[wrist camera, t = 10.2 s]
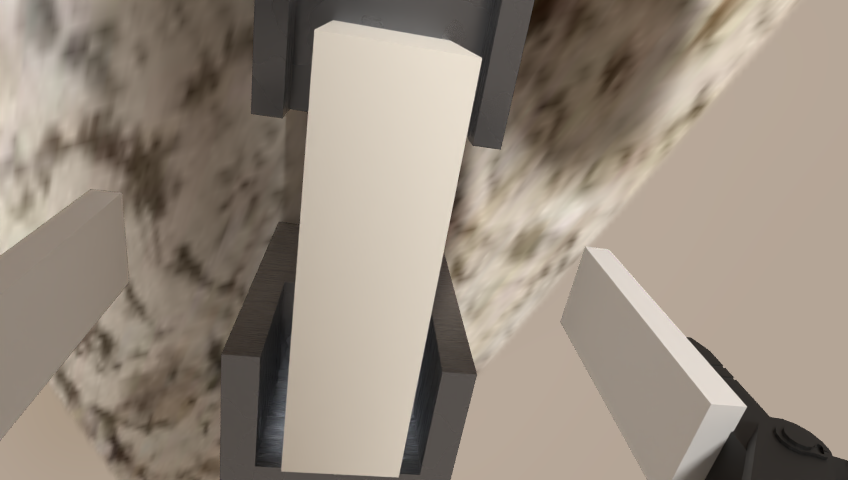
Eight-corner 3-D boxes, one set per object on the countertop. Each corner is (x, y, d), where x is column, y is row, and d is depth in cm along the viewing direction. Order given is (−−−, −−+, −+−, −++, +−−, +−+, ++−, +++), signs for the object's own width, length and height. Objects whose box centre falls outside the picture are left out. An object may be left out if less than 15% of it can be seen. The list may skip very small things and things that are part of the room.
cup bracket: (278, 221, 27) (221, 354, 17) (440, 240, 28) (476, 374, 18) (273, 321, 29) (219, 489, 19) (422, 334, 30) (445, 498, 20)
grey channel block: (295, -70, 22) (257, -102, 15) (493, -31, 23) (544, -44, 16) (286, 80, 24) (251, 113, 17) (466, 108, 25) (500, 149, 18)
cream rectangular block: (333, 20, 18) (314, 29, 12) (450, 40, 18) (481, 58, 13) (303, 360, 23) (281, 471, 18) (393, 367, 24) (398, 477, 18)
